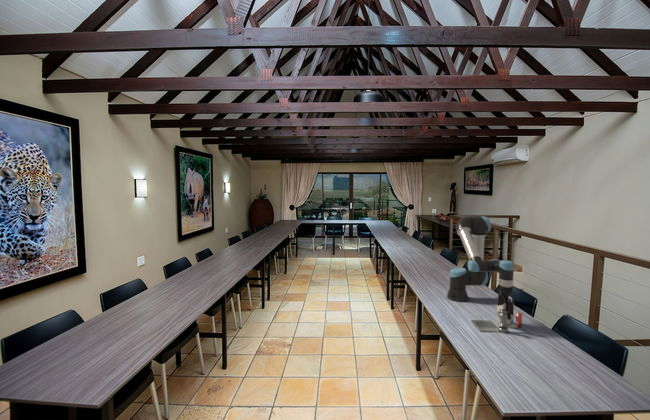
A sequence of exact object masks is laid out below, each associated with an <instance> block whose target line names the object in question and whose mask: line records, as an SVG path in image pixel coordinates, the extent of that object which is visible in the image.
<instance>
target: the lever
mask: <svg viewBox="0 0 650 420" xmlns="http://www.w3.org/2000/svg"><path fill="white" fill-rule="evenodd" d="M515 314H516V315H515V324H513V325H507V326H506V328H511V329H512V328H513V329H514V328H515V329H517V328H518V329H520V328H523V327H522V325H523V314H522V313H521V312H516V313H515Z"/></svg>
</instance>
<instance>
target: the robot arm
mask: <svg viewBox="0 0 650 420" xmlns="http://www.w3.org/2000/svg"><path fill="white" fill-rule="evenodd" d="M491 230H492V225H491V221H490V219H489V218H488V217H487V216H482V215H481V216H480V215H479V216H474V215H473V216H464V217H461V218H460V219H459V220H458V221H457V222H456V226H455V231H456V234H457V235H458V236H459V237H460V239H461V242H462V245H463V247H464V250H465V252H466V255H467V257H468V261H467V269H466V268H464V267H454V268H452V269H450V271H449V288H448V291H447V293H446V297H447V299H449V300H450V301H453V302H461V303H464V302H467V301H469V294H468V292H467V286H477V287H480V286H481V287H482V286H485V285H487V283H488V280H489V273H497V274H498V284H499V285H498V291H497V294H498V295H497V306H499V305H503V304H505V303H506V310H507V311H508V313H507V317H506V324H511V314H513V302H514V301H515V299H514V298H512V295H511V294H512V293H514V292H513V291H514V287H513V286H514V270H515V269H514V268H515V267H514V262H513V261H511V260H503V259H502V260H500V259H496V258H493V259H490V260H488V259H487V260H486V259H485V260H484V258H485V257H484V255H485V237H487V235H488V233H489V232H491Z"/></svg>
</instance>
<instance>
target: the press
mask: <svg viewBox="0 0 650 420" xmlns="http://www.w3.org/2000/svg"><path fill="white" fill-rule="evenodd" d="M500 312H501V321H500V325H499V326H497V325H496V324H495V323H494V322H493V321H492V320H491V319H487V320H486V319H485V320H483V319H482V320H481V319H480V320H479V319H472V320H470V323H471V324H472V325H473V326H474V327H475V329H477V330H478V332H486V333H487V332H488V333H489V332H494V333H496V332H499V333H502V334H508V333H509V329H508V327H507V326H506V317H507V313H508V311H507V310H504V309H500Z"/></svg>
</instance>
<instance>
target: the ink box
mask: <svg viewBox="0 0 650 420" xmlns="http://www.w3.org/2000/svg"><path fill="white" fill-rule="evenodd" d="M514 306H515V304H514V301H513V314H511V324H506V327H507V325H514V317H515V316H514V312H515V310H514V309H515V307H514ZM500 309H504V310H506V303H505V304H503V305H499V306H498V305H496V324H497V325H499V326H500V321H501V312H500Z"/></svg>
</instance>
